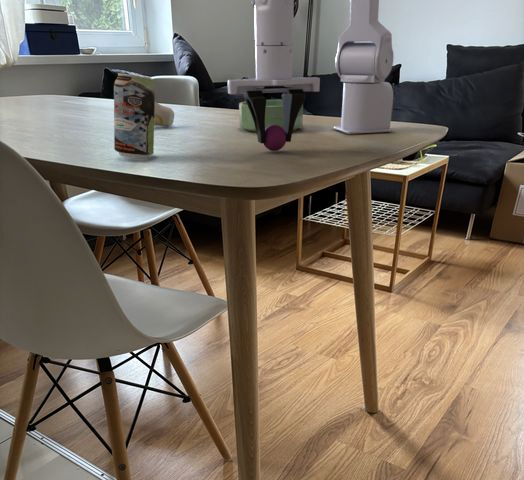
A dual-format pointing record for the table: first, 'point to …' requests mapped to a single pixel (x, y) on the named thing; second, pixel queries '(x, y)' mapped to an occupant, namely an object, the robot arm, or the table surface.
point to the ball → (274, 137)
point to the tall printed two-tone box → (134, 116)
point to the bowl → (267, 115)
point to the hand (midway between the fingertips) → (274, 141)
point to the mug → (163, 115)
